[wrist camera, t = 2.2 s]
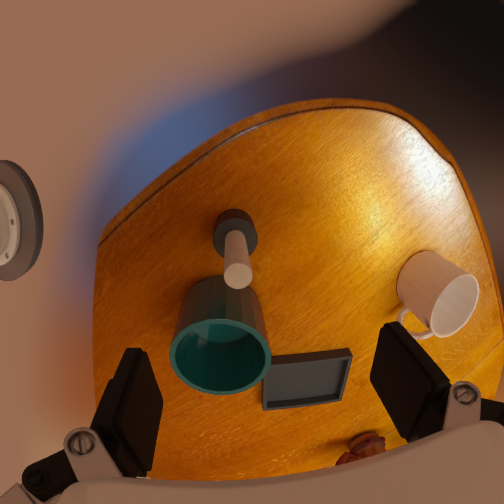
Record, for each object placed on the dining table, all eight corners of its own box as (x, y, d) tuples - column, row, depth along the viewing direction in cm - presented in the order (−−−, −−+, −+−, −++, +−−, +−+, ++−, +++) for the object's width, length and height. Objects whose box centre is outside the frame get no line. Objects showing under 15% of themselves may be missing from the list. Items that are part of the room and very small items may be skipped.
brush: (215, 246, 34) (208, 305, 21) (214, 209, 33) (204, 247, 19) (253, 245, 34) (269, 302, 21) (253, 208, 33) (270, 245, 20)
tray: (261, 402, 43) (262, 410, 41) (262, 356, 40) (264, 365, 38) (337, 392, 44) (341, 400, 42) (348, 347, 41) (353, 355, 39)
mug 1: (388, 426, 50) (412, 475, 36) (369, 447, 53) (389, 494, 38) (334, 429, 48) (355, 488, 34) (317, 450, 50) (333, 505, 36)
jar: (186, 343, 38) (178, 394, 29) (177, 276, 35) (161, 319, 25) (260, 341, 39) (269, 392, 29) (261, 274, 36) (272, 316, 26)
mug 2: (429, 237, 36) (471, 259, 27) (447, 278, 39) (483, 304, 30) (370, 291, 38) (403, 327, 29) (394, 327, 40) (424, 362, 32)
